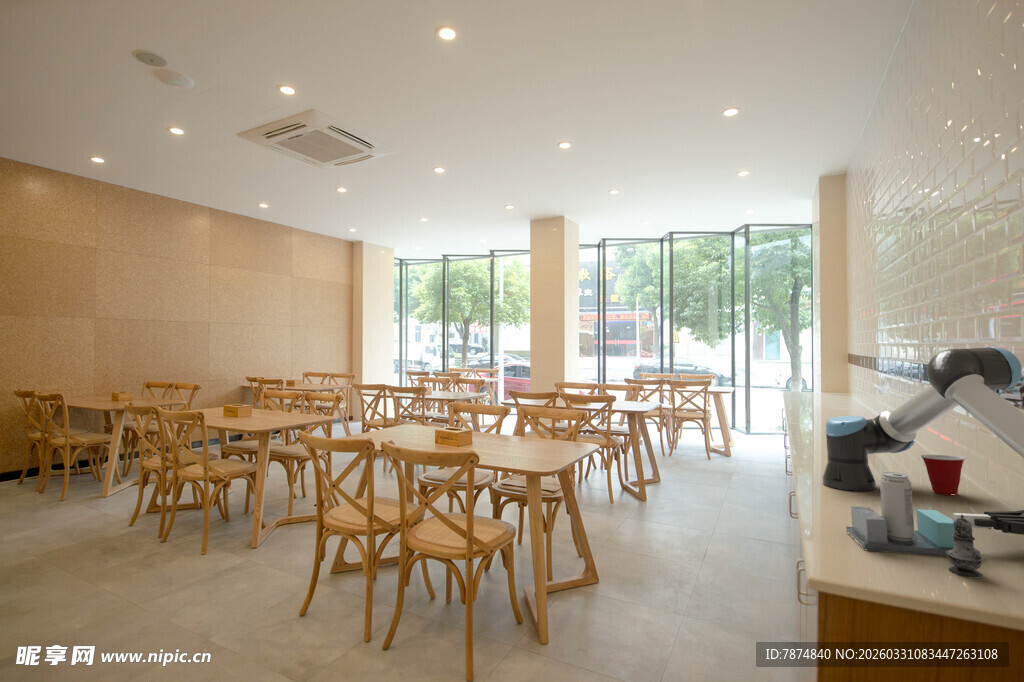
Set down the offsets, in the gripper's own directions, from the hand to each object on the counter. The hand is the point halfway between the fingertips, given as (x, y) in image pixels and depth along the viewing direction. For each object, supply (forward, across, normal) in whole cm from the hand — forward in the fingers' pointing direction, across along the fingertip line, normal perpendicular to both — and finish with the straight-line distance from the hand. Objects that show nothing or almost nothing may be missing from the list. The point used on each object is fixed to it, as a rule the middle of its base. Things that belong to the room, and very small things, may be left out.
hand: (955, 519), depth 116 cm
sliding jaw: (+4, 0, -5) cm, 6 cm away
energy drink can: (+11, 0, -5) cm, 12 cm away
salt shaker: (+6, -15, -7) cm, 17 cm away
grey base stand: (+10, 0, -6) cm, 11 cm away
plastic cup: (-21, +51, -7) cm, 55 cm away
